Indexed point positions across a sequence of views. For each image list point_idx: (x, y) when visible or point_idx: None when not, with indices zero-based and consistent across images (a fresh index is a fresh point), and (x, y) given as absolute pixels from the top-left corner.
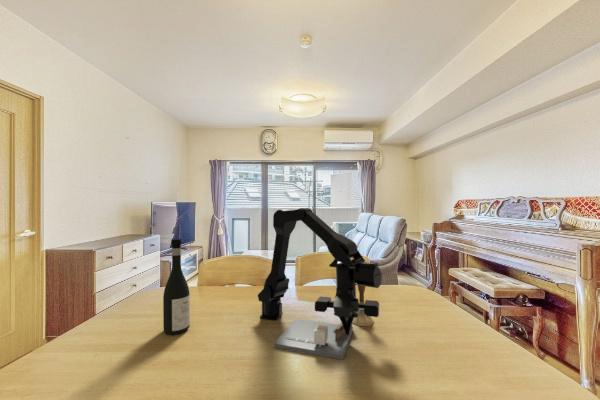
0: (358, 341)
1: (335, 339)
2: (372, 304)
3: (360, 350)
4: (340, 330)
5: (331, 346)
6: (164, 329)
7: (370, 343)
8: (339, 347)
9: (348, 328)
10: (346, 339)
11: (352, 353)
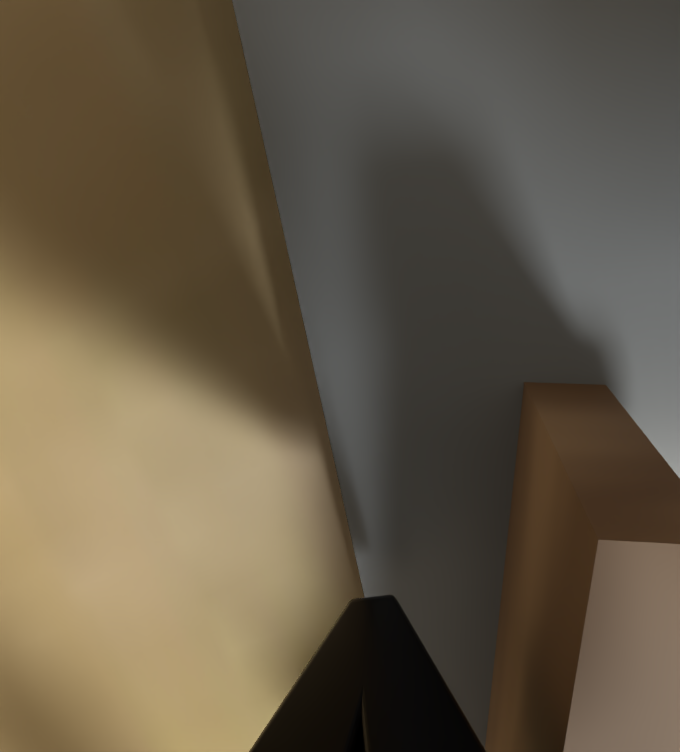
0: (228, 608)
1: (607, 387)
2: None
3: (76, 357)
4: (551, 615)
5: (614, 30)
6: None
7: (45, 623)
8: (401, 91)
9: (313, 717)
10: (381, 504)
11: (150, 181)
